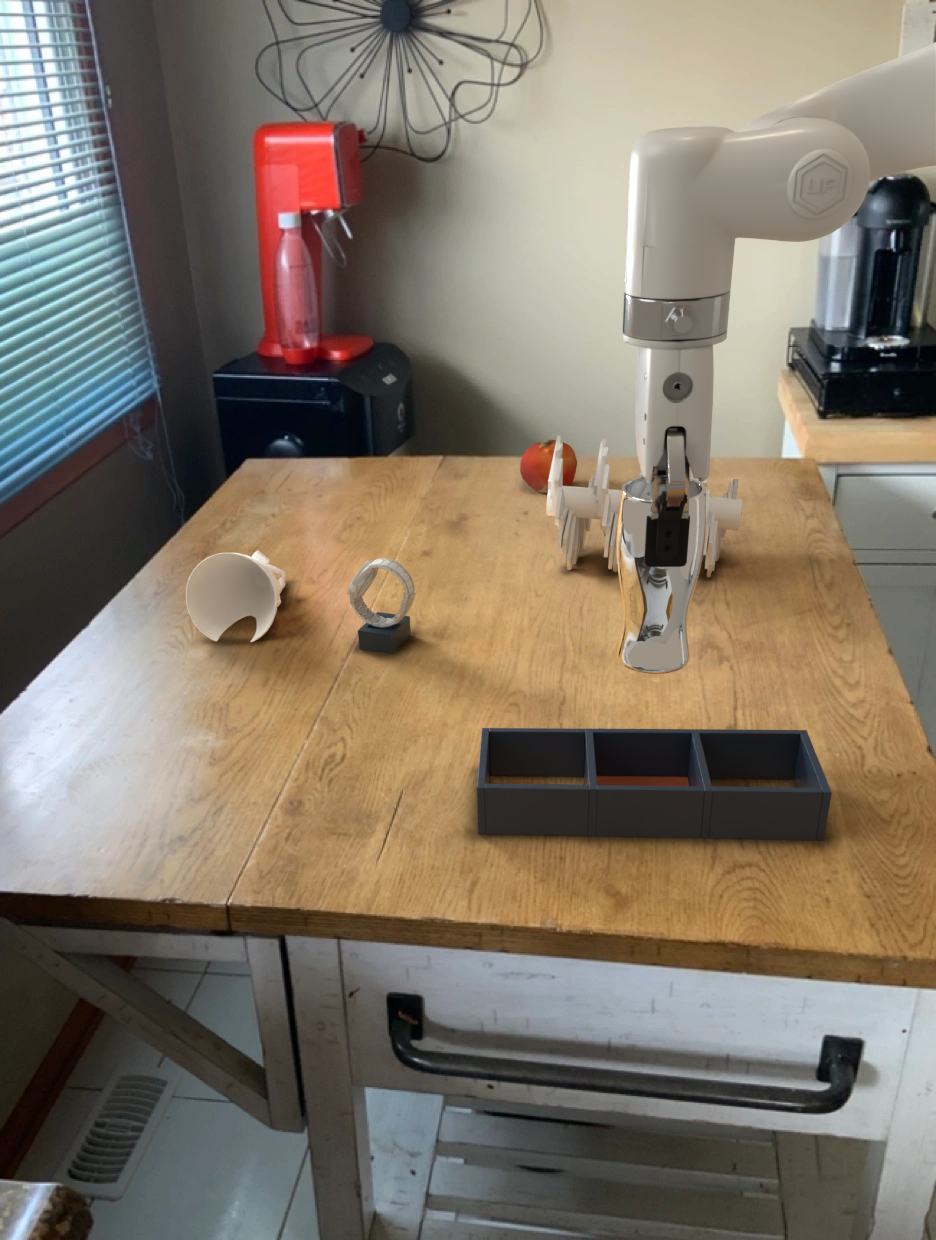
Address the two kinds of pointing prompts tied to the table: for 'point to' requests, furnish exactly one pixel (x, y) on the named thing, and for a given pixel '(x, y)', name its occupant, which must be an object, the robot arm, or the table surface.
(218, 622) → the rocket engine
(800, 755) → the compartment tray
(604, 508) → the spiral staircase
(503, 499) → the table surface
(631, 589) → the beer glass
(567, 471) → the tomato
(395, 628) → the watch
